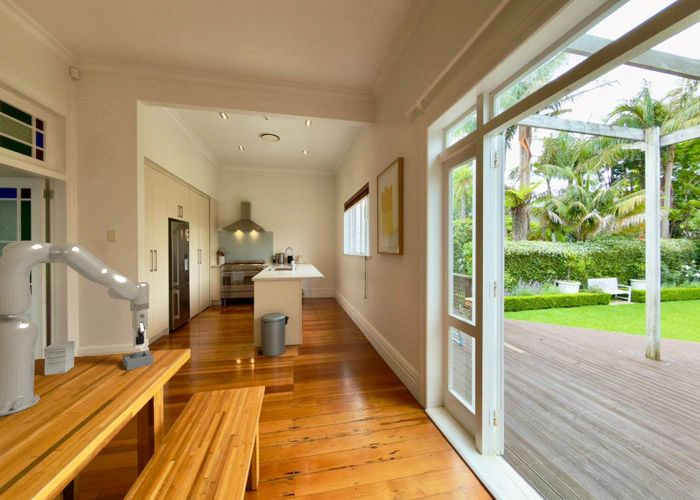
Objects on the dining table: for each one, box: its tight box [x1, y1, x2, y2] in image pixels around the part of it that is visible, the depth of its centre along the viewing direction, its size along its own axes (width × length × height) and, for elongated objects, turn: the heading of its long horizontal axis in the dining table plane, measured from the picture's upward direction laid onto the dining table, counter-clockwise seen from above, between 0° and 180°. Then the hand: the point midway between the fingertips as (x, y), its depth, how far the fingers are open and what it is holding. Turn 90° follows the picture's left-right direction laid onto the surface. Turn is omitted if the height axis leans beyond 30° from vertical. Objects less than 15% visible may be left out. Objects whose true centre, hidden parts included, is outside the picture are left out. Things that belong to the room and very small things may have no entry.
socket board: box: [121, 349, 154, 371], centre depth 132 cm, size 12×10×4 cm
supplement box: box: [44, 340, 75, 376], centre depth 122 cm, size 7×7×13 cm
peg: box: [132, 328, 146, 349], centre depth 132 cm, size 4×4×9 cm
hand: (138, 342), depth 132 cm, fingers closed on peg, 4 cm apart
